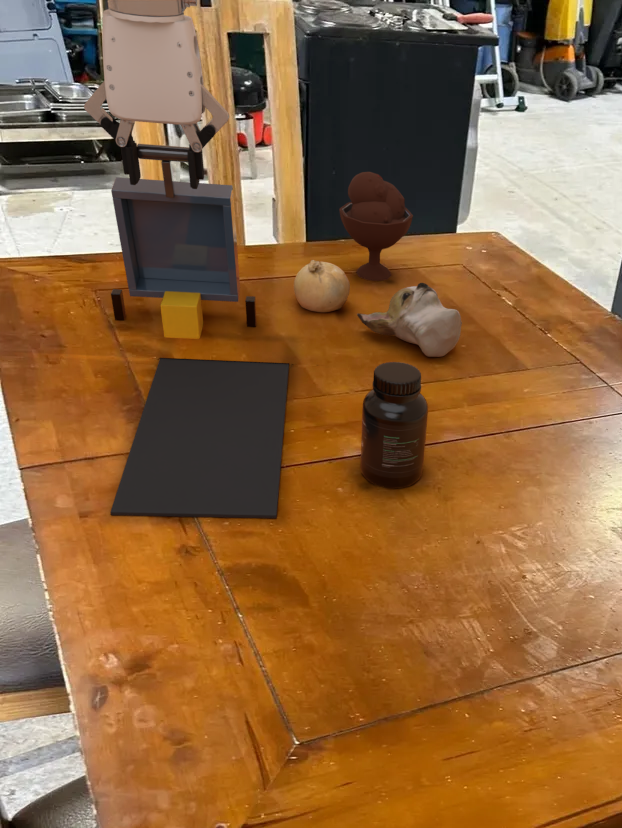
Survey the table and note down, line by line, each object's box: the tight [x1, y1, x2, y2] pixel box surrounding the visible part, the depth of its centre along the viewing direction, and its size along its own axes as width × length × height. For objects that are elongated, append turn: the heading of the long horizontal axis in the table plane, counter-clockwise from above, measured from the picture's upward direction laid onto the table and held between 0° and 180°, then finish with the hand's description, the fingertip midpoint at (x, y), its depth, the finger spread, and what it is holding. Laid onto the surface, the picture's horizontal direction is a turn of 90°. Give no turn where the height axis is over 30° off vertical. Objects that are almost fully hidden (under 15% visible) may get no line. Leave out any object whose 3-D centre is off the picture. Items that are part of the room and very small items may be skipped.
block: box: [159, 291, 204, 340], centre depth 116 cm, size 4×4×4 cm
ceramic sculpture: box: [356, 282, 463, 358], centre depth 120 cm, size 11×9×15 cm
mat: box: [109, 357, 290, 519], centre depth 103 cm, size 16×42×1 cm, turn 6°
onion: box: [293, 259, 351, 313], centre depth 126 cm, size 8×8×7 cm
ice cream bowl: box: [339, 171, 414, 282], centre depth 135 cm, size 11×11×15 cm
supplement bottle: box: [360, 361, 429, 489], centre depth 93 cm, size 7×7×12 cm
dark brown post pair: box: [110, 288, 258, 328], centre depth 119 cm, size 2×18×4 cm, turn 96°
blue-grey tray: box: [110, 143, 241, 303], centre depth 111 cm, size 20×14×5 cm
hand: (165, 182), depth 103 cm, fingers closed on blue-grey tray, 6 cm apart
